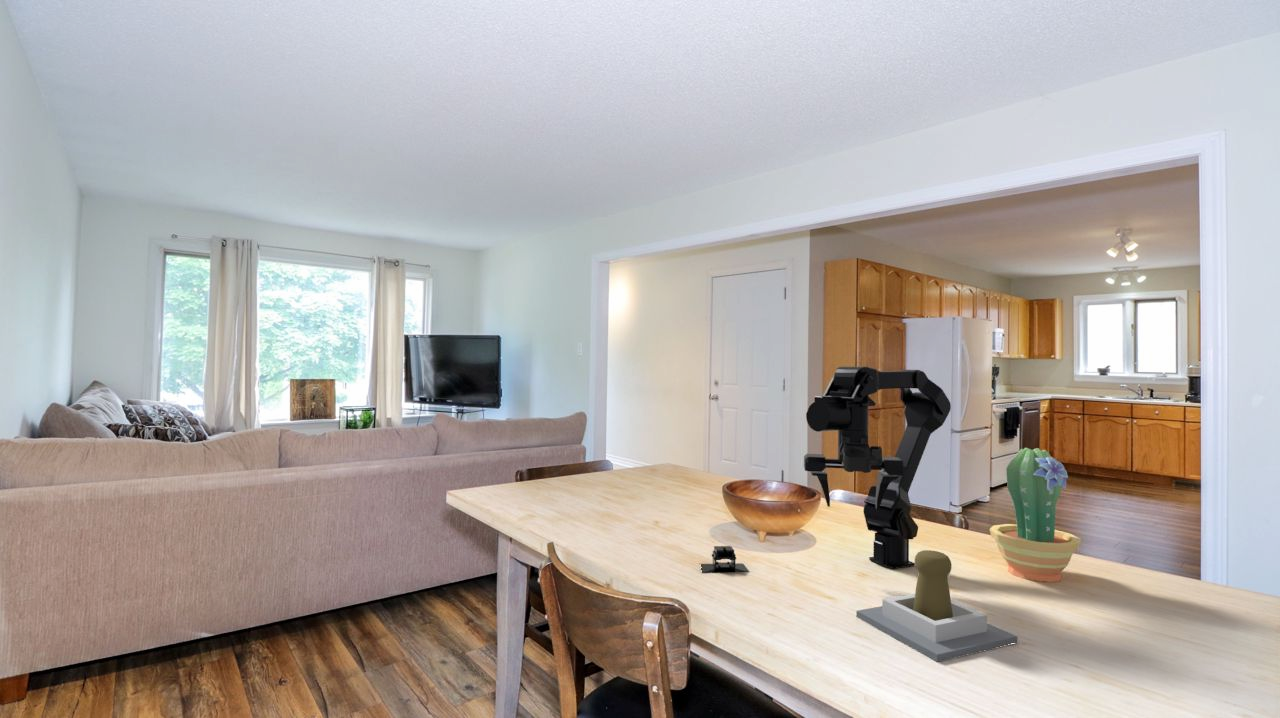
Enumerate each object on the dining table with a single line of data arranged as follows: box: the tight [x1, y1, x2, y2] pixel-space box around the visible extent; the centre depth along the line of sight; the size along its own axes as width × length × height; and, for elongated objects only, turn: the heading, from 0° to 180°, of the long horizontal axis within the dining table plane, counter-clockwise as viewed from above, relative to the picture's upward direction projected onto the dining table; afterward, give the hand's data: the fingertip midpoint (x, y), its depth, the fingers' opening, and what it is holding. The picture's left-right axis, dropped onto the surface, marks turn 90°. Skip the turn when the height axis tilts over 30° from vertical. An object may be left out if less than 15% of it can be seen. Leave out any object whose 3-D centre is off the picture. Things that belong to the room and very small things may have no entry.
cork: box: [913, 549, 953, 621], centre depth 94 cm, size 6×6×11 cm
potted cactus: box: [989, 447, 1082, 583], centre depth 120 cm, size 15×15×25 cm
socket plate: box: [855, 593, 1018, 663], centre depth 94 cm, size 16×16×4 cm
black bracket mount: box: [700, 545, 750, 574], centre depth 122 cm, size 12×7×5 cm, turn 93°
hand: (852, 507), depth 120 cm, fingers open, 9 cm apart
